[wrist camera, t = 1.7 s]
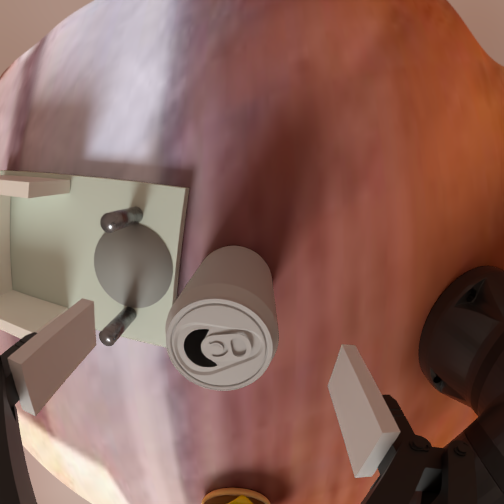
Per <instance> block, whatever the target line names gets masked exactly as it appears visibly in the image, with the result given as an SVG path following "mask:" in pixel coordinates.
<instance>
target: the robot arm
mask: <svg viewBox="0 0 504 504" xmlns="http://www.w3.org/2000/svg"><path fill="white" fill-rule="evenodd" d="M95 346H96V334H95V314H94V301H91V300H87V299H83V298H82V299H81V300H79V301H78V302H77V303H75V304H74V305H73V306H71V307H70V308H69V309H68V310H66V311H65V312H64V313H62V314H61V315H60V316H58V317H57V318H56V319H55V320H53V321H52V322H51V323H50V324H48V325H47V326H46V327H45V328H43V329H42V330H41V331H40V332H38V333H36V332H33V333H30V334H28V335H26V336H24V337H23V338H22V339H20V340H19V341H18V342H17V343H15V344H14V345H13V346H12V347H10V348H9V349H8V350H7V351H5V352H4V353H3V354H2V355H1V356H0V504H37V502H36V499H35V495H34V492H33V488H32V485H31V481H30V478H29V473H28V469H27V465H26V461H25V456H24V452H23V446H22V441H21V435H20V429H19V423H18V416H17V409H16V407H15V404H16V403H17V402H18V401H19V400H20V403H21V406H22V409H23V410H24V411H26V412H28V413H30V414H32V415H34V416H36V415H37V414H38V413H39V412H40V410H41V409H42V408H43V407H44V406H45V404H46V403H47V402H48V401H49V399H50V398H51V397H52V396H53V395H54V393H55V392H56V391H57V390H58V389H59V388H60V386H61V385H62V384H63V383H64V382H65V380H66V379H67V378H68V377H69V376H70V375H71V373H72V372H73V371H74V370H75V369H76V368H77V366H78V365H79V364H80V363H81V362H82V361H83V360H84V358H85V357H86V356H87V355H88V354H89V353H90V352H91V350H92V349H93V348H94V347H95ZM419 363H420V367H421V369H422V372H423V373H424V375H425V376H426V378H427V379H428V380H429V382H430V383H431V384H432V386H433V387H434V388H435V389H437V390H438V391H439V392H441V393H443V394H445V395H447V396H449V397H451V398H453V399H455V400H457V401H459V402H461V403H463V404H465V405H467V406H469V407H471V408H472V409H473V410H474V412H475V413H476V414H477V415H478V418H477V419H476V420H475V421H474V422H473V423H472V424H471V425H469V426H468V427H467V428H466V429H465V430H464V431H463V432H462V433H460V434H459V435H458V436H457V437H456V438H455V439H453V440H452V441H451V442H450V443H449V444H447V445H446V446H445V447H444V448H437V447H432V446H431V444H430V442H429V441H428V440H427V439H425V438H424V437H422V436H418V435H415V434H414V432H413V430H412V428H411V426H410V424H409V423H408V421H407V419H406V417H405V416H404V414H403V412H402V410H401V408H400V406H399V405H398V403H397V401H396V400H395V399H393V398H392V397H391V396H390V395H381V393H380V391H379V389H378V387H377V385H376V383H375V381H374V379H373V377H372V376H371V374H370V372H369V370H368V368H367V366H366V364H365V362H364V361H363V359H362V357H361V355H360V353H359V351H358V350H357V348H356V346H355V345H345V344H342V345H341V348H340V351H339V355H338V358H337V361H336V363H335V366H334V369H333V372H332V375H331V378H330V381H329V384H328V389H329V392H330V395H331V399H332V402H333V405H334V408H335V412H336V415H337V418H338V422H339V425H340V428H341V432H342V435H343V438H344V442H345V445H346V448H347V452H348V455H349V459H350V462H351V466H352V469H353V473H354V476H355V478H358V477H370V476H372V475H373V474H374V472H375V471H376V470H377V468H378V470H379V472H380V476H379V477H378V479H377V480H376V481H375V483H374V484H373V485H372V487H371V488H370V491H369V492H368V494H367V495H366V497H365V498H364V500H363V501H362V502H361V504H504V271H503V270H501V269H499V268H497V267H493V266H481V267H477V268H474V269H472V270H470V271H468V272H466V273H464V274H463V275H461V276H460V277H459V278H457V279H456V280H455V281H454V282H453V283H452V284H451V285H450V286H449V287H448V288H447V289H446V290H445V291H444V292H443V294H442V295H441V296H440V298H439V299H438V300H437V302H436V303H435V305H434V307H433V308H432V310H431V312H430V314H429V316H428V318H427V320H426V322H425V325H424V328H423V331H422V334H421V338H420V343H419Z"/></svg>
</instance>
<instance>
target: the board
mask: <svg viewBox="0 0 504 504" xmlns="http://www.w3.org/2000/svg"><path fill="white" fill-rule="evenodd" d="M0 175H16V176H30V177H42V178H54V179H66V180H71V181H70V192H69V193H67V194H58V195H50V196H42V197H34V198H21V197H13V196H11V203H10V258H11V275H12V287H13V290H15V291H18V292H21V293H24V294H27V295H29V296H32V297H35V298H38V299H41V300H45V301H48V302H51V303H54V304H57V305H60V306H64V307H67V308H68V309H69V308H70V307H71V306H73V305H74V304H75V303H77V302H78V301H79V300H81V299H82V298H83V299H87V300H91V301H94V314H95V329H96V330H99V331H102V330H103V329H104V328H105V327H106V326H107V325H108V324H109V323H110V322H111V321H112V320H113V319H114V318H115V317H116V316H117V315H118V314H119V313H120V312H121V311H122V310H123V309H124V308H125V307H127V306H128V307H132V308H133V309H134V310H135V311H136V314H137V316H136V318H135V320H134V321H133V322H132V323H131V324H130V325H129V327H128V328H127V329H126V330H125V331H124V332H123V334H122V335H121V337H125V338H129V339H133V340H137V341H141V342H145V343H149V344H153V345H157V346H162V347H166V333H165V326H166V320H167V317H168V314H169V311H170V309H171V307H172V306H173V304H174V303H175V301H176V298H177V288H178V277H179V268H180V258H181V249H182V241H183V233H184V225H185V217H186V209H187V202H188V195H189V188H186V187H178V186H171V185H163V184H155V183H147V182H139V181H130V180H121V179H112V178H102V177H92V176H81V175H69V174H57V173H44V172H29V171H11V170H1V171H0ZM135 206H136V207H139V208H140V209H141V210H142V212H143V218H142V220H141V221H140V222H139V223H136V224H133V225H131V226H128V227H125V228H123V229H120V230H117V231H115V232H112V233H107V232H105V231H104V230H103V229H102V228H101V225H100V220H101V217H102V216H103V215H104V214H105V213H109V212H113V211H117V210H121V209H126V208H130V207H135Z"/></svg>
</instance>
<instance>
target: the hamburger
mask: <svg viewBox="0 0 504 504" xmlns="http://www.w3.org/2000/svg"><path fill="white" fill-rule="evenodd" d="M202 504H271V503H270V502H269V500H268V499H267V498H266V497H265V496H264V495H262V494H260V493H258V492H256V491H252V490H249V489H243V488H222V489H217V490H214V491H212V492H210V493H208V494H207V495H206V496H205V497H204V498H203V500H202Z"/></svg>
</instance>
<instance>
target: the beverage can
mask: <svg viewBox="0 0 504 504" xmlns="http://www.w3.org/2000/svg"><path fill="white" fill-rule="evenodd" d="M165 333H166V348H167V352H168V355H169V357H170V360H171V362H172V363H173V365H174V366H175V368H176V369H177V370H178V371H179V372H180V373H181V374H182V375H183V376H184V377H185V378H187V379H188V380H189V381H191V382H193V383H195V384H197V385H199V386H201V387H204V388H208V389H212V390H220V391H227V390H235V389H239V388H242V387H245V386H247V385H249V384H251V383H253V382H254V381H256V380H257V379H258V378H259V377H260V376H261V375H262V374H263V373H264V372H265V371H266V369H267V367H268V366H269V363H270V362H271V360H272V359H273V357H274V355H275V353H276V350H277V347H278V341H279V331H278V323H277V315H276V307H275V299H274V291H273V283H272V276H271V272H270V269H269V267H268V265H267V264H266V262H265V261H264V260H263V258H262V257H261V256H260V255H258V254H257V253H256V252H254V251H252V250H250V249H248V248H245V247H241V246H226V247H222V248H219V249H217V250H215V251H213V252H212V253H210V254H209V255H208V256H207V257H206V258H205V259H204V260H203V262H202V263H201V265H200V266H199V268H198V269H197V270H196V272H195V273H194V275H193V276H192V278H191V279H190V281H189V282H188V284H187V285H186V286H185V288H184V289H183V291H182V292H181V294H180V295H179V297H178V298H177V300H176V301H175V303H174V304H173V306H172V307H171V309H170V311H169V314H168V317H167V320H166V326H165Z"/></svg>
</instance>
